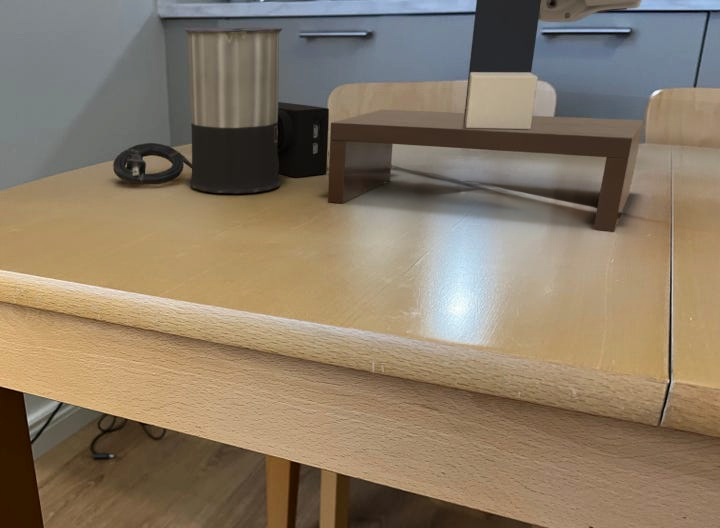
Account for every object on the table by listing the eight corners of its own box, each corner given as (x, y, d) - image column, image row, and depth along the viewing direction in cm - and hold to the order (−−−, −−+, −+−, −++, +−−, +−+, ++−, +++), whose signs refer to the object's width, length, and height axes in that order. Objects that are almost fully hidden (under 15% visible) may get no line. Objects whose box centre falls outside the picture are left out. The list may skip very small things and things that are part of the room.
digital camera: (235, 165, 88) (235, 102, 85) (274, 161, 90) (275, 100, 87) (285, 179, 80) (286, 110, 77) (326, 174, 82) (329, 107, 79)
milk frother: (295, 191, 73) (298, 25, 67) (137, 204, 69) (125, 27, 63) (245, 169, 86) (244, 27, 80) (107, 178, 81) (95, 28, 75)
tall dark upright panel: (464, 114, 71) (483, -67, 65) (520, 115, 70) (544, -69, 64) (465, 128, 61) (488, -84, 55) (530, 129, 60) (561, -87, 54)
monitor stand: (376, 179, 79) (381, 109, 76) (627, 200, 68) (643, 120, 65) (327, 202, 69) (330, 122, 66) (614, 231, 58) (632, 137, 55)
